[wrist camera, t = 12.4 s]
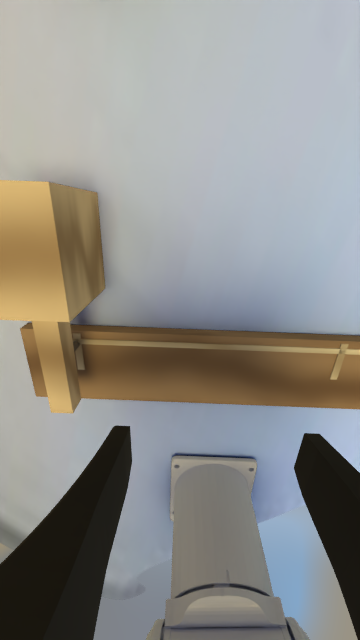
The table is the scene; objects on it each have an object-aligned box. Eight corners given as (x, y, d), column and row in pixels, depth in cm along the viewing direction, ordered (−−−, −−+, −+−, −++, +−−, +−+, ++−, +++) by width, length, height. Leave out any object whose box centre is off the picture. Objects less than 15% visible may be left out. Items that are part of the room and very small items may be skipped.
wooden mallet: (112, 371, 21) (85, 430, 15) (63, 369, 21) (18, 427, 15) (97, 192, 15) (48, 181, 10) (31, 190, 15) (-53, 178, 10)
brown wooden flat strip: (377, 401, 21) (387, 411, 20) (42, 388, 21) (35, 397, 20) (404, 337, 19) (417, 344, 18) (28, 322, 19) (19, 329, 18)
